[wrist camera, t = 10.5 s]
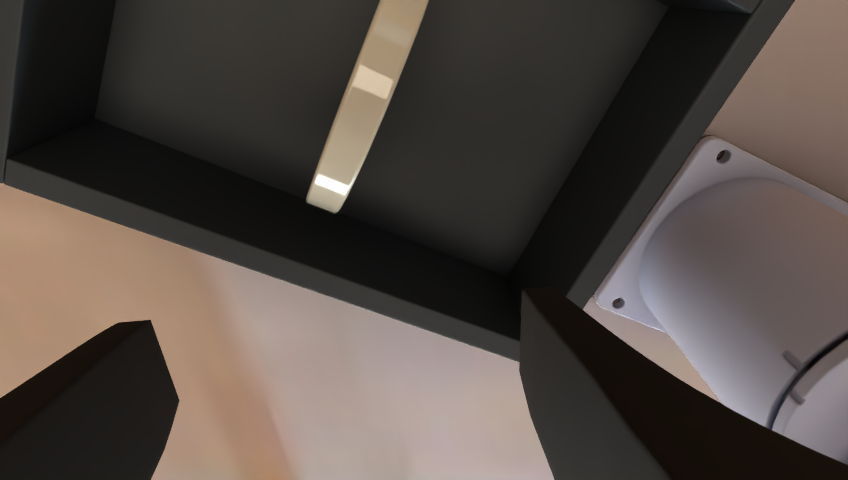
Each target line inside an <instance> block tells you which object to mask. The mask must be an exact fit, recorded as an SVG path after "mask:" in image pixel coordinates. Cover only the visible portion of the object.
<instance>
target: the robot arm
mask: <svg viewBox="0 0 848 480" xmlns="http://www.w3.org/2000/svg"><path fill="white" fill-rule="evenodd" d="M723 150H725V154H724V156H723V157H722V158H721V159H719V160H717V158H716V157H717V155H718V153H720V152H721V151H723ZM618 298H621V299H620V301H619V302H618V303H615V304H614V303H613V301H614V300H615V299H618ZM594 299H595V301H596V303H597V304H598V306H599V307H601V308H603V309H605V310H608V311H611V312H613V313H616V314H618V315H621V316H624V317H626V318H629V319H631V320H634V321H636V322H639V323H642V324H644V325H647V326H649V327H652V328H654V329H657V330H660V331H662V332H665V333H667V334H669V335H670V337H671V338H672V339H673V340H674V342H675V343H676V344H677V346H678V347H679V348H680V350H681V351H682V352H683V353H684V355H685V356H686V357H687V359H688V360H689V361H690V363H691V364H692V365H693V366H694V368H695V369H696V370H697V372H698V373H699V374H700V375H701V377H702V378H703V379H704V381H705V382H706V383H707V385H708V386H709V387H710V388H711V390H712V391H713V392H714V394H715V395H716V396H717V398H718V399H719V400H720V401H721V403H722V404H721V403H719V402H717V401H716V400H714V399H712V398H710V397H709V396H707V395H705V394H703V393H701V392H700V391H698V390H696V389H694V388H693V387H691V386H690V385H688V384H686V383H685V382H683V381H681V380H680V379H678V378H677V377H675V376H673V375H672V374H670V373H669V372H667V371H666V370H664V369H663V368H661V367H660V366H658V365H657V364H655V363H654V362H652V361H651V360H649V359H648V358H646V357H645V356H643V355H642V354H641V353H639V352H638V351H636V350H635V349H633V348H632V347H631V346H629V345H628V344H626V343H625V342H624V341H622V340H621V339H620V338H618V337H617V336H616V335H614V334H613V333H612V332H610V331H609V330H608V329H606V328H605V327H604V326H602V325H601V324H600V323H599V322H597V321H596V320H595V319H593V318H592V317H591V316H590V315H588V314H587V313H586V312H585V311H583V310H582V309H581V308H580V307H578V306H577V305H576V304H575V303H573V302H572V301H571V300H570V299H568V298H567V297H566V296H565V295H563V294H562V293H561V292H559V291H558V290H557V289H555V288H554V287H542V288H530V289H522V305H521V337H520V368H519V371H520V375H521V379H522V384H523V388H524V392H525V396H526V400H527V404H528V408H529V412H530V415H531V418H532V421H533V424H534V427H535V429H536V432H537V434H538V437H539V440H540V442H541V445H542V448H543V450H544V453H545V455H546V458H547V461H548V463H549V466H550V468H551V471H552V474H553V476H554V479H555V480H848V203H847V202H845V201H843V200H841V199H839V198H837V197H835V196H833V195H831V194H829V193H827V192H825V191H823V190H821V189H819V188H817V187H815V186H813V185H811V184H809V183H807V182H805V181H803V180H801V179H799V178H797V177H795V176H793V175H791V174H789V173H787V172H785V171H783V170H781V169H780V168H778V167H776V166H774V165H772V164H770V163H768V162H766V161H764V160H762V159H760V158H758V157H756V156H754V155H752V154H750V153H748V152H746V151H744V150H742V149H740V148H738V147H736V146H734V145H732V144H730V143H728V142H726V141H724V140H722V139H720V138H718V137H715V136H707V137H705V138H703V139H701V140H700V141H699V142H698V144H697V145H696V146H695V148H694V149H693V151H692V152H691V154H690V155H689V157H688V158H687V159H686V161H685V162H684V164H683V165H682V167H681V168H680V170H679V171H678V173H677V174H676V175H675V177H674V178H673V180H672V181H671V183H670V184H669V186H668V187H667V189H666V190H665V191H664V193H663V194H662V196H661V197H660V199H659V200H658V202H657V203H656V205H655V206H654V207H653V209H652V210H651V212H650V213H649V215H648V216H647V218H646V219H645V221H644V222H643V223H642V225H641V226H640V228H639V229H638V231H637V232H636V234H635V235H634V237H633V238H632V239H631V241H630V242H629V244H628V245H627V247H626V248H625V250H624V251H623V253H622V254H621V255H620V257H619V258H618V260H617V261H616V263H615V264H614V266H613V267H612V269H611V270H610V271H609V273H608V274H607V276H606V277H605V279H604V280H603V282H602V283H601V285H600V286H599V287H598V289H597V290H596V292H595V294H594ZM178 403H179V398H178V395H177V393H176V390H175V387H174V384H173V381H172V379H171V376H170V373H169V370H168V368H167V365H166V362H165V359H164V356H163V354H162V351H161V348H160V345H159V342H158V340H157V337H156V334H155V331H154V328H153V326H152V323H151V320H144V321H132V322H120V323H117V324H115V325H113V326H111V327H110V328H108V329H106V330H104V331H103V332H101V333H99V334H98V335H96V336H94V337H93V338H91V339H90V340H88V341H86V342H85V343H83V344H82V345H80V346H79V347H77V348H76V349H74V350H73V351H71V352H70V353H68V354H67V355H65V356H64V357H62V358H61V359H59V360H58V361H56V362H55V363H53V364H52V365H50V366H49V367H47V368H46V369H44V370H42V371H41V372H39V373H38V374H36V375H35V376H33V377H32V378H30V379H29V380H27V381H26V382H24V383H23V384H21V385H20V386H18V387H17V388H15V389H14V390H12V391H11V392H9V393H8V394H6V395H5V396H3V397H1V398H0V480H151V478H152V476H153V474H154V471H155V469H156V467H157V465H158V463H159V460H160V458H161V456H162V454H163V451H164V449H165V446H166V443H167V440H168V437H169V434H170V431H171V428H172V424H173V421H174V417H175V414H176V410H177V407H178Z"/></svg>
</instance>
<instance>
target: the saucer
mask: <svg viewBox="0 0 848 480" xmlns="http://www.w3.org/2000/svg"><path fill="white" fill-rule="evenodd" d="M428 3H429V0H380V1H379V4H378V6H377V9H376V11H375V14H374V16H373V19H372V22H371V24H370V27H369V29H368V32H367V35H366V37H365V40H364V42H363V45H362V48H361V50H360V53H359V55H358V58H357V61H356V63H355V66H354V68H353V71H352V74H351V76H350V79H349V82H348V84H347V87H346V89H345V92H344V95H343V97H342V100H341V103H340V105H339V108H338V111H337V113H336V116H335V119H334V121H333V124H332V127H331V129H330V132H329V135H328V137H327V140H326V143H325V145H324V148H323V151H322V153H321V156H320V159H319V162H318V164H317V167H316V170H315V172H314V175H313V178H312V181H311V184H310V186H309V189H308V192H307V195H306V203H307V204H310V205H312V206H315V207H317V208H320V209H323V210H325V211H328V212H330V213H333V214H336V213H337V212H338V211H339V210H340V209H341V208H342V206H343V204H344V203H345V201H346V199H347V197H348V195H349V193H350V191H351V189H352V187H353V185H354V183H355V181H356V179H357V176H358V174H359V172H360V170H361V168H362V166H363V163H364V161H365V159H366V157H367V154H368V152H369V150H370V148H371V145H372V143H373V141H374V138H375V136H376V134H377V131H378V129H379V127H380V124H381V122H382V120H383V117H384V115H385V112H386V110H387V108H388V105H389V103H390V100H391V98H392V96H393V93H394V91H395V88H396V86H397V83H398V81H399V78H400V76H401V73H402V71H403V68H404V66H405V63H406V61H407V58H408V56H409V53H410V51H411V48H412V45H413V43H414V40H415V38H416V35H417V33H418V30H419V27H420V25H421V22H422V19H423V17H424V14H425V11H426V9H427V6H428Z"/></svg>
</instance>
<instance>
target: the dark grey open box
mask: <svg viewBox="0 0 848 480" xmlns="http://www.w3.org/2000/svg"><path fill="white" fill-rule="evenodd" d="M379 1H380V0H0V183H4V184H5V185H8V186H11V187H14V188H17V189H19V190H22V191H25V192H28V193H31V194H34V195H37V196H40V197H43V198H45V199H48V200H51V201H54V202H57V203H60V204H63V205H66V206H69V207H71V208H74V209H77V210H80V211H83V212H86V213H89V214H92V215H95V216H98V217H100V218H103V219H106V220H109V221H112V222H115V223H118V224H121V225H124V226H126V227H129V228H132V229H135V230H138V231H141V232H144V233H147V234H150V235H153V236H155V237H158V238H161V239H164V240H167V241H170V242H173V243H176V244H179V245H181V246H184V247H187V248H190V249H193V250H196V251H199V252H202V253H205V254H208V255H210V256H213V257H216V258H219V259H222V260H225V261H228V262H231V263H234V264H236V265H239V266H242V267H245V268H248V269H251V270H254V271H257V272H260V273H263V274H265V275H268V276H271V277H274V278H277V279H280V280H283V281H286V282H289V283H291V284H294V285H297V286H300V287H303V288H306V289H309V290H312V291H315V292H318V293H320V294H323V295H326V296H329V297H332V298H335V299H338V300H341V301H344V302H346V303H349V304H352V305H355V306H358V307H361V308H364V309H367V310H370V311H373V312H375V313H378V314H381V315H384V316H387V317H390V318H393V319H396V320H399V321H401V322H404V323H407V324H410V325H413V326H416V327H419V328H422V329H425V330H427V331H430V332H433V333H436V334H439V335H442V336H445V337H448V338H451V339H454V340H456V341H459V342H462V343H465V344H468V345H471V346H474V347H477V348H480V349H482V350H485V351H488V352H491V353H494V354H497V355H500V356H503V357H506V358H509V359H511V360H514V361H517V362H520V337H521V305H522V289H530V288H542V287H554V288H555V289H557V290H558V291H559V292H561V293H562V294H563V295H565V296H566V297H567V298H568V299H570V300H571V301H572V302H573V303H575V304H576V305H577V306H578V307H580V308H581V309H583V308H584V307H585V305H586V304H587V302H588V301H589V299H590V298H591V296H592V295H593V293H594V292H595V291H596V289H597V288H598V286H599V285H600V283H601V282H602V280H603V279H604V277H605V276H606V275H607V273H608V272H609V270H610V269H611V267H612V266H613V264H614V263H615V261H616V260H617V259H618V257H619V256H620V254H621V253H622V251H623V250H624V248H625V247H626V245H627V244H628V243H629V241H630V240H631V238H632V237H633V235H634V234H635V232H636V231H637V229H638V228H639V227H640V225H641V224H642V222H643V221H644V219H645V218H646V216H647V215H648V213H649V212H650V210H651V209H652V208H653V206H654V205H655V203H656V202H657V200H658V199H659V197H660V196H661V194H662V193H663V192H664V190H665V189H666V187H667V186H668V184H669V183H670V181H671V180H672V178H673V177H674V176H675V174H676V173H677V171H678V170H679V168H680V167H681V165H682V164H683V162H684V161H685V160H686V158H687V157H688V155H689V154H690V152H691V151H692V149H693V148H694V146H695V145H696V144H697V142H698V141H699V139H700V138H701V136H702V135H703V133H704V132H705V130H706V129H707V128H708V126H709V125H710V123H711V122H712V120H713V119H714V117H715V116H716V114H717V113H718V112H719V110H720V109H721V107H722V106H723V104H724V103H725V101H726V100H727V98H728V97H729V96H730V94H731V93H732V91H733V90H734V88H735V87H736V85H737V84H738V82H739V81H740V80H741V78H742V77H743V75H744V74H745V72H746V71H747V69H748V68H749V66H750V65H751V63H752V62H753V61H754V59H755V58H756V56H757V55H758V53H759V52H760V50H761V49H762V47H763V46H764V45H765V43H766V42H767V40H768V39H769V37H770V36H771V34H772V33H773V31H774V30H775V29H776V27H777V26H778V24H779V23H780V21H781V20H782V18H783V17H784V15H785V14H786V13H787V11H788V10H789V8H790V7H791V5H792V4H793V2H794V1H795V0H429V3H428V6H427V9H426V11H425V14H424V17H423V19H422V22H421V25H420V27H419V30H418V33H417V35H416V38H415V40H414V43H413V45H412V48H411V51H410V53H409V56H408V58H407V61H406V63H405V66H404V68H403V71H402V73H401V76H400V78H399V81H398V83H397V86H396V88H395V91H394V93H393V96H392V98H391V100H390V103H389V105H388V108H387V110H386V112H385V115H384V117H383V120H382V122H381V124H380V127H379V129H378V131H377V134H376V136H375V138H374V141H373V143H372V145H371V148H370V150H369V152H368V154H367V157H366V159H365V161H364V163H363V166H362V168H361V170H360V172H359V174H358V176H357V179H356V181H355V183H354V185H353V187H352V189H351V191H350V193H349V195H348V197H347V199H346V201H345V203H344V204H343V206H342V208H341V209H340V210H339V211H338V212H337V213H336V214H333V213H330V212H328V211H325V210H323V209H320V208H317V207H315V206H312V205H310V204H307V203H306V195H307V192H308V189H309V186H310V184H311V181H312V178H313V175H314V172H315V170H316V167H317V164H318V162H319V159H320V156H321V153H322V151H323V148H324V145H325V143H326V140H327V137H328V135H329V132H330V129H331V127H332V124H333V121H334V119H335V116H336V113H337V111H338V108H339V105H340V103H341V100H342V97H343V95H344V92H345V89H346V87H347V84H348V82H349V79H350V76H351V74H352V71H353V68H354V66H355V63H356V61H357V58H358V55H359V53H360V50H361V48H362V45H363V42H364V40H365V37H366V35H367V32H368V29H369V27H370V24H371V22H372V19H373V16H374V14H375V11H376V9H377V6H378V4H379Z"/></svg>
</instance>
